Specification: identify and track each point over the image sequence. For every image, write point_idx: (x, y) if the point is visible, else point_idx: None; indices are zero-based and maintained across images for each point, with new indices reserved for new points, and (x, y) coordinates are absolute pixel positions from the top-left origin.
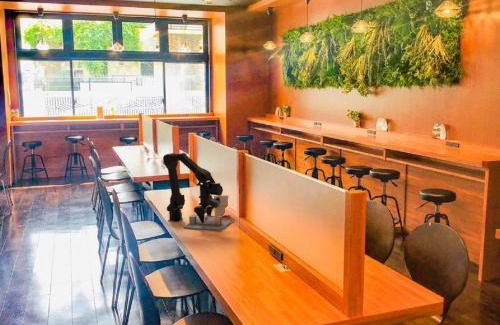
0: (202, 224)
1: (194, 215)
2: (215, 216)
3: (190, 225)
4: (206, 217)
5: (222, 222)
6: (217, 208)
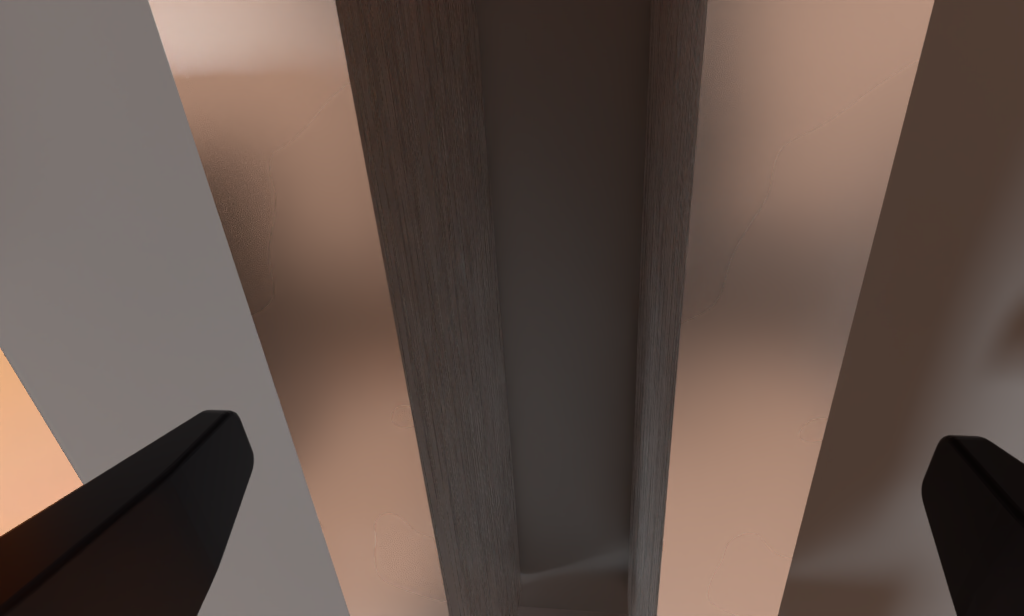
0: None
1: None
2: (339, 50)
3: None
4: (786, 571)
5: None
6: None
